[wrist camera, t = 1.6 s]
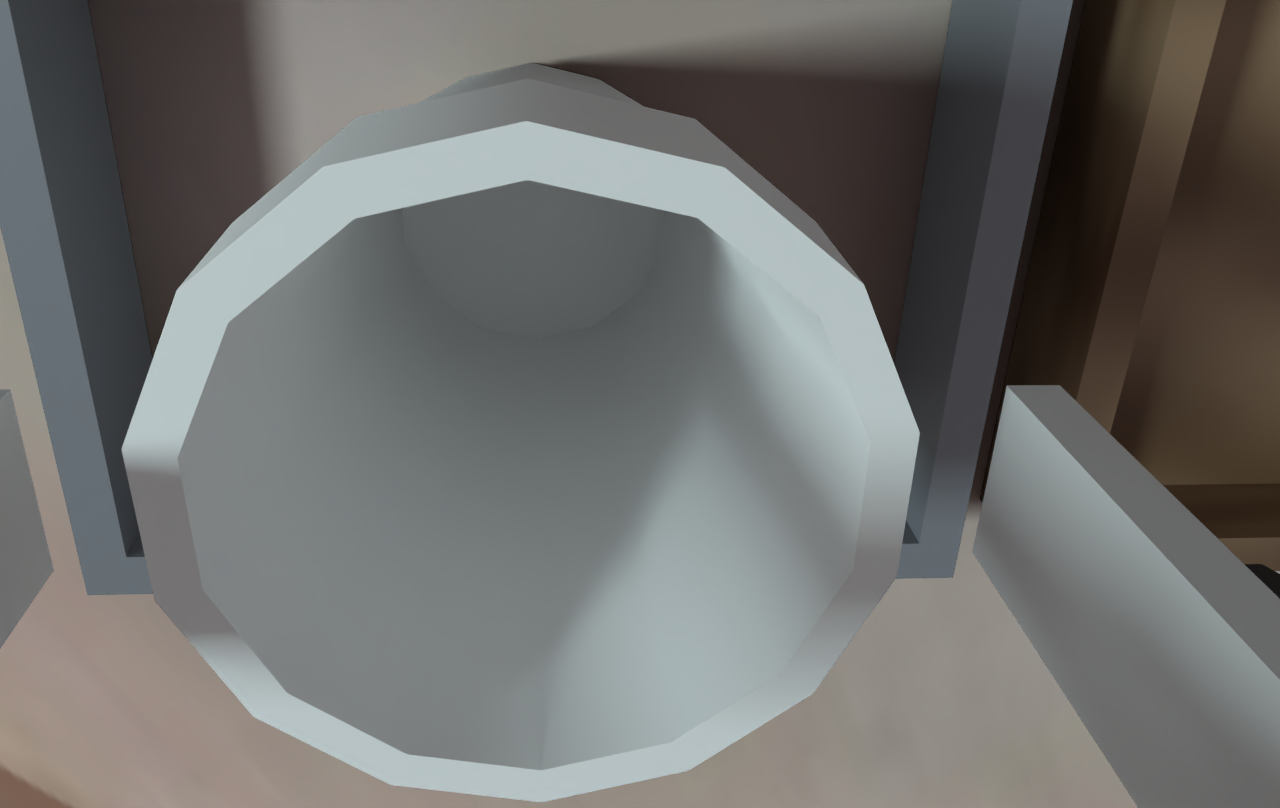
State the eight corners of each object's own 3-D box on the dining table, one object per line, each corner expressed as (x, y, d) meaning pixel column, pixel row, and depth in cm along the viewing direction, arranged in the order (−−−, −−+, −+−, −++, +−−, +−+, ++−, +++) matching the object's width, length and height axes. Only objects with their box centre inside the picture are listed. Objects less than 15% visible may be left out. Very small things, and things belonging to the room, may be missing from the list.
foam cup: (794, 297, 26) (1000, 646, 15) (455, 449, 27) (398, 886, 16) (633, -95, 22) (741, -39, 10) (239, 103, 23) (-58, 353, 11)
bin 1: (-9, -220, 20) (-109, -233, 17) (1028, -171, 22) (1109, -174, 19) (138, 510, 27) (87, 595, 24) (908, 499, 29) (952, 577, 26)
